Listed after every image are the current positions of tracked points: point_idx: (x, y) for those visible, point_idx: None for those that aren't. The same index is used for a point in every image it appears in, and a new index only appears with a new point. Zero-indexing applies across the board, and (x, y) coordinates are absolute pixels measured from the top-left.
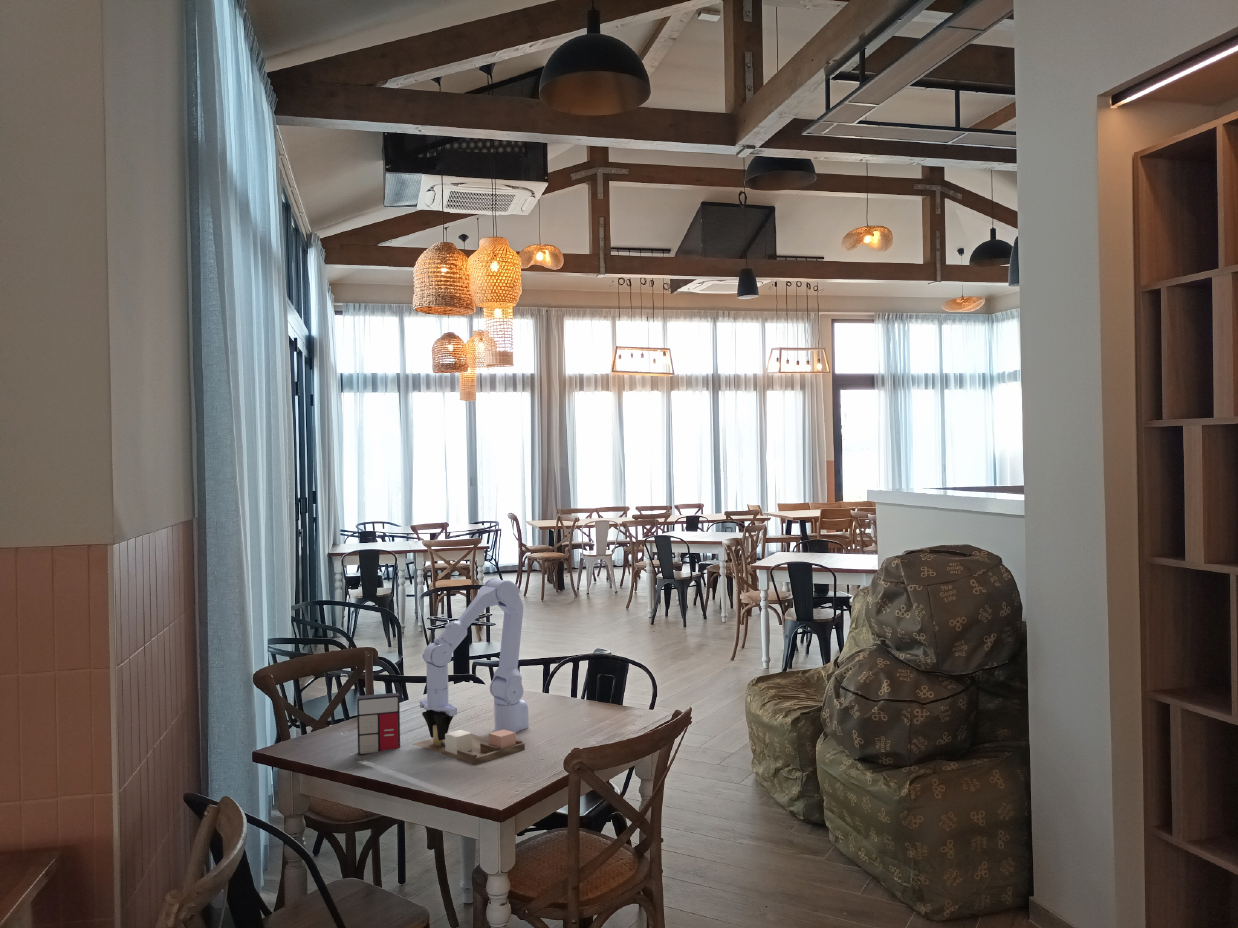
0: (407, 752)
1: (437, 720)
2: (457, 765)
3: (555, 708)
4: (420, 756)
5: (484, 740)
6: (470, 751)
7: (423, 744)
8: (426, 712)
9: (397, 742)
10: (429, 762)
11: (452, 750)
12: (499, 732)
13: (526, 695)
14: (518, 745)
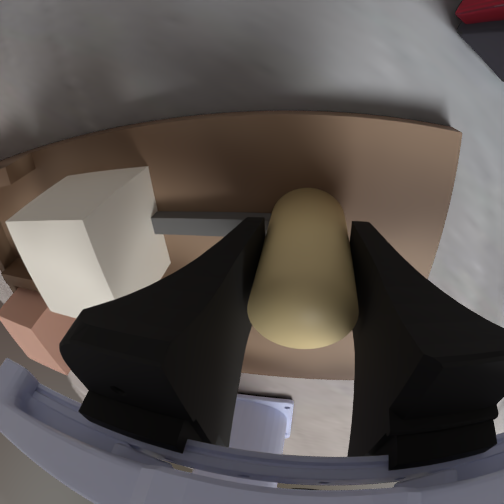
0: (391, 29)
1: (135, 305)
2: (16, 127)
3: None
4: (235, 30)
5: None
6: None
7: (390, 157)
8: (465, 394)
9: (479, 6)
10: (99, 33)
11: (84, 177)
12: (35, 346)
13: None
14: None
